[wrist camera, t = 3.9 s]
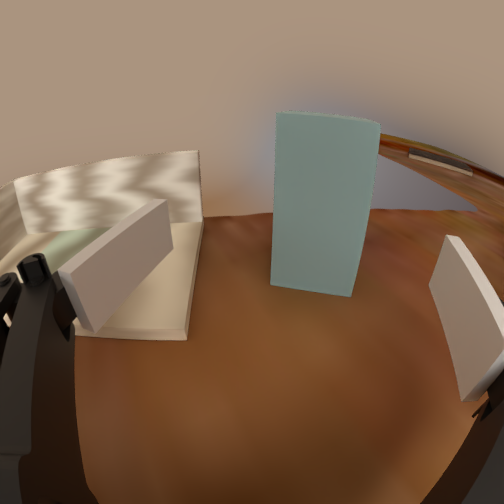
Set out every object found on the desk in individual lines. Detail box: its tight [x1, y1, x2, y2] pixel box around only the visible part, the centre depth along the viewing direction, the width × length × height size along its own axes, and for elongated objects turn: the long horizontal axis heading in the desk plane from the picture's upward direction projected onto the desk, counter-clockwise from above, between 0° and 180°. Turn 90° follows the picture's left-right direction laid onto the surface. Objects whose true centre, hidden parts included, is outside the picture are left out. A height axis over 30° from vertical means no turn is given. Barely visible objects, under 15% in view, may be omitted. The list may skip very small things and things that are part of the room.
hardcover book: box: [409, 148, 473, 176], centre depth 75 cm, size 16×23×2 cm
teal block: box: [270, 111, 381, 297], centre depth 20 cm, size 6×6×12 cm
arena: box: [0, 150, 204, 340], centre depth 20 cm, size 24×16×8 cm, turn 94°
